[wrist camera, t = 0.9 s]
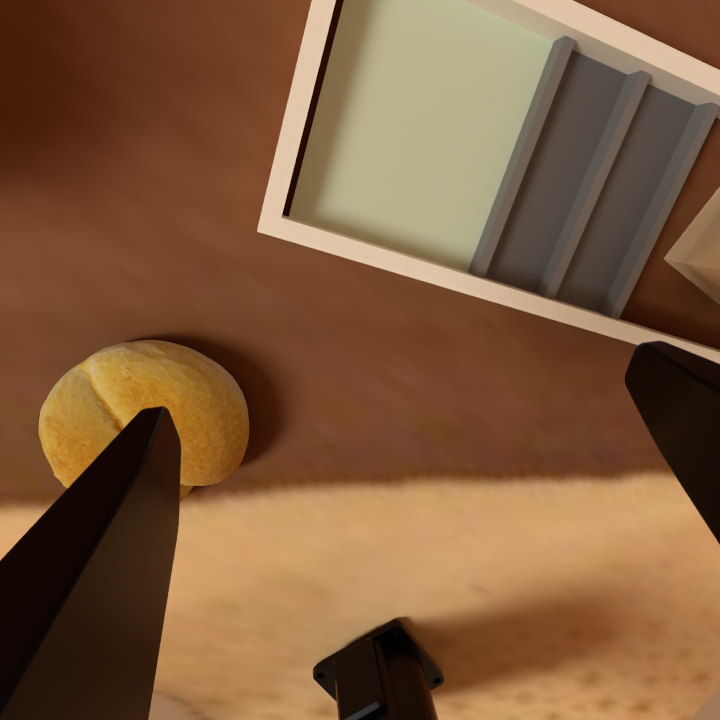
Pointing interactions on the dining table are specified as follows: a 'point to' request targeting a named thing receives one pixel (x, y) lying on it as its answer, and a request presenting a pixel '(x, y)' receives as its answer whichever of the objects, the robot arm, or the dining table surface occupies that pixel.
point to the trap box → (493, 151)
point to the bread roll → (145, 390)
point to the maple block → (701, 250)
